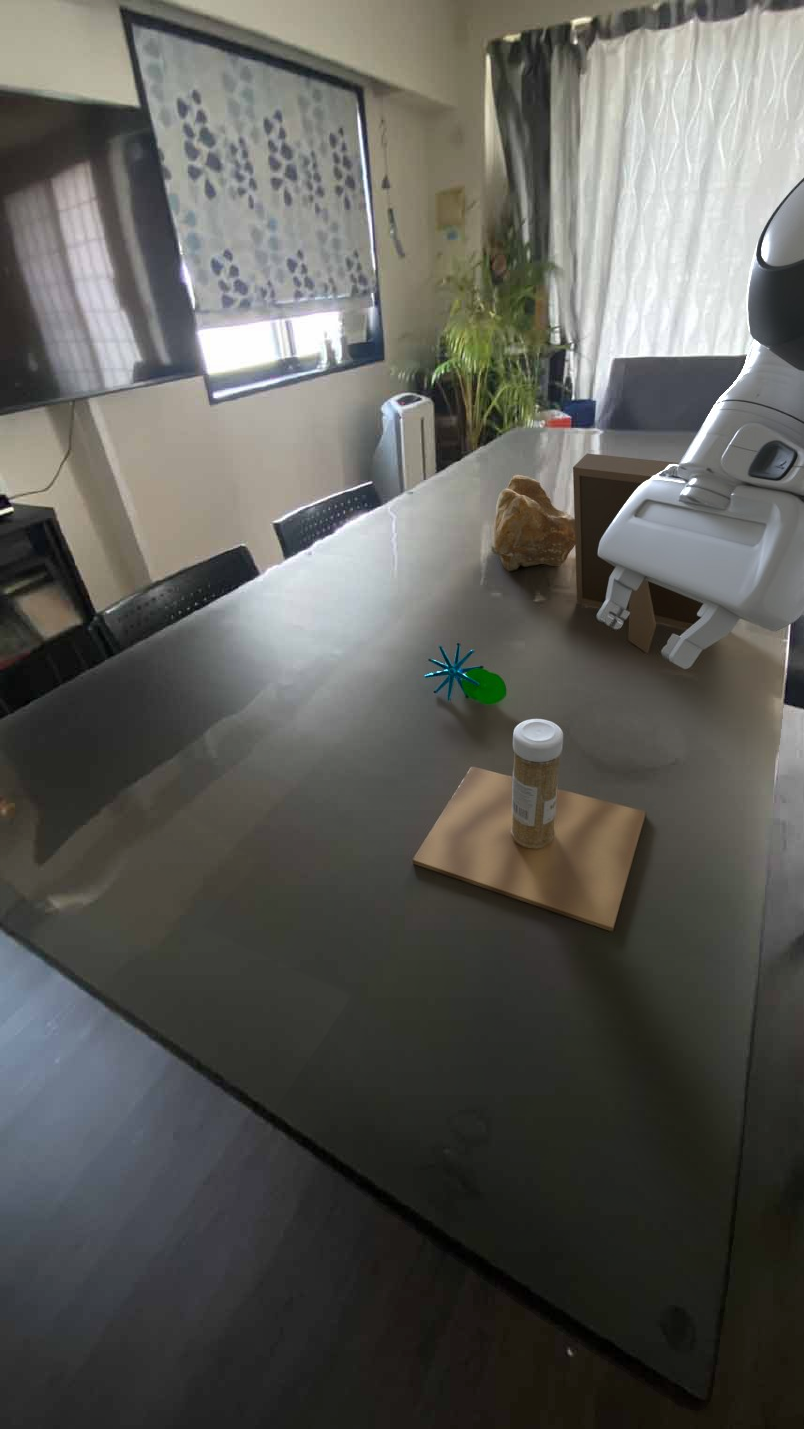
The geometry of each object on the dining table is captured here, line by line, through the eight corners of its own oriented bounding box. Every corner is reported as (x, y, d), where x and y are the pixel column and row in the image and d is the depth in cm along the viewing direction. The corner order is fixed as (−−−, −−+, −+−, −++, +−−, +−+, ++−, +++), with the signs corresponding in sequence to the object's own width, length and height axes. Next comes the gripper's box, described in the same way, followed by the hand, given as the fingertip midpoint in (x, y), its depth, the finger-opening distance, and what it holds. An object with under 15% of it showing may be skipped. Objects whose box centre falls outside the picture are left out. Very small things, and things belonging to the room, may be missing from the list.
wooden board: (645, 815, 68) (646, 811, 68) (612, 932, 57) (613, 928, 57) (471, 769, 77) (471, 765, 76) (412, 863, 65) (412, 859, 65)
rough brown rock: (571, 589, 117) (586, 507, 109) (481, 578, 120) (489, 498, 112) (575, 546, 136) (588, 473, 127) (497, 538, 139) (505, 466, 131)
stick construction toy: (413, 684, 89) (437, 633, 88) (425, 685, 95) (448, 638, 94) (491, 722, 86) (517, 670, 85) (498, 721, 93) (522, 672, 92)
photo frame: (588, 593, 113) (603, 444, 99) (715, 623, 101) (753, 458, 87) (546, 626, 105) (557, 468, 90) (681, 663, 93) (717, 487, 78)
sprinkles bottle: (561, 844, 65) (572, 740, 57) (520, 855, 64) (525, 750, 57) (542, 814, 69) (550, 712, 61) (503, 824, 68) (505, 722, 60)
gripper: (635, 445, 54) (549, 592, 58) (834, 459, 36) (688, 673, 39) (687, 481, 56) (601, 620, 60) (898, 512, 38) (755, 708, 42)
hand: (636, 642), depth 49 cm, fingers open, 8 cm apart
